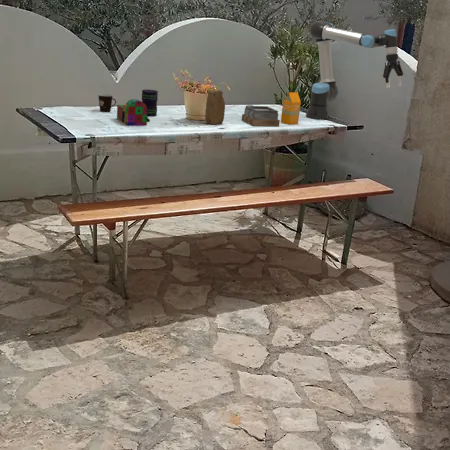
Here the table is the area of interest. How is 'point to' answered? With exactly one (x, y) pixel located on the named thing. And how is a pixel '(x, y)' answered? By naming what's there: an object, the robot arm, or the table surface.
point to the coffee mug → (105, 102)
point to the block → (215, 107)
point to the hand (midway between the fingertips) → (394, 87)
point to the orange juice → (291, 108)
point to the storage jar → (150, 101)
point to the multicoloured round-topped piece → (133, 113)
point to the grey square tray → (261, 116)
